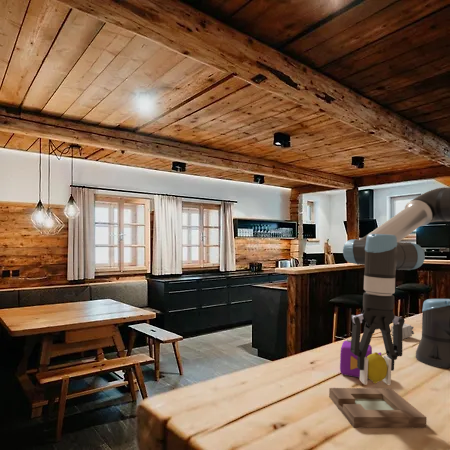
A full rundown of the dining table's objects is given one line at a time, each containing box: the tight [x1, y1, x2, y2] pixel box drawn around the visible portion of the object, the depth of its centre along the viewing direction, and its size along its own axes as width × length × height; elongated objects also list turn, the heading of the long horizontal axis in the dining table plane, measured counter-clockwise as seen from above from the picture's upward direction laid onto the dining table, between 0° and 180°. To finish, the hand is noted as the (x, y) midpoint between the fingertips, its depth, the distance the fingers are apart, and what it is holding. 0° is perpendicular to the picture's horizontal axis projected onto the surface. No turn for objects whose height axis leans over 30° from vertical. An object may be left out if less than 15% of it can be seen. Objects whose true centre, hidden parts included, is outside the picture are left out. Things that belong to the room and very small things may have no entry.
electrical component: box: [371, 322, 415, 340], centre depth 166 cm, size 24×6×5 cm, turn 113°
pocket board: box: [328, 387, 427, 429], centre depth 96 cm, size 18×16×2 cm
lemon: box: [367, 352, 387, 384], centre depth 96 cm, size 6×6×8 cm
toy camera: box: [339, 338, 382, 379], centre depth 122 cm, size 11×14×10 cm
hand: (374, 382), depth 96 cm, fingers closed on lemon, 5 cm apart
